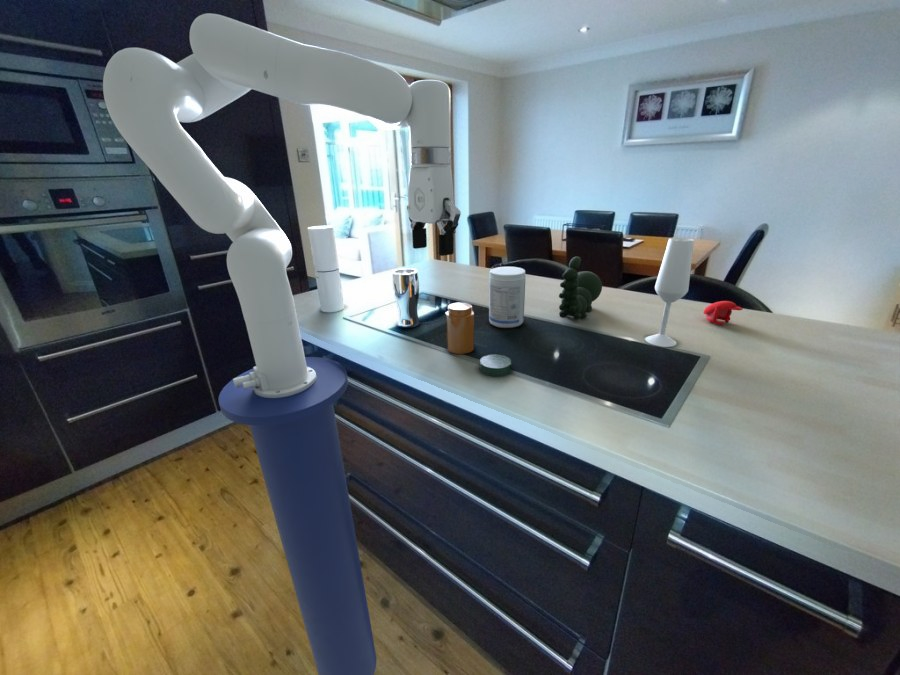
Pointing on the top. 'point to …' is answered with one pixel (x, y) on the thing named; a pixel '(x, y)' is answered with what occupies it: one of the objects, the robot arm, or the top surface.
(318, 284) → the cylindrical container
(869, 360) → the top surface
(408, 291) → the beer glass
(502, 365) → the lid
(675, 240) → the champagne flute
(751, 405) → the top surface
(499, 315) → the supplement tub
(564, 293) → the toy figurine
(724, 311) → the red animal figurine
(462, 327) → the jar
